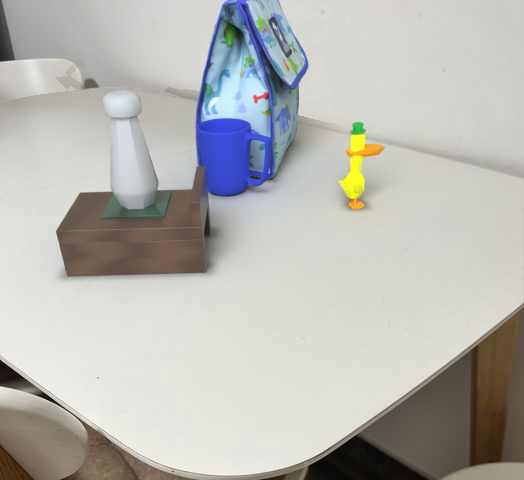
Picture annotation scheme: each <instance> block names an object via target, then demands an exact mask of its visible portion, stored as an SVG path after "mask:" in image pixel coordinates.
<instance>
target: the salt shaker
mask: <svg viewBox="0 0 524 480" xmlns="http://www.w3.org/2000/svg"><path fill="white" fill-rule="evenodd" d="M142 102H143V101H142V99H141V96H140V95H139V94H138V93H137V92H136V91H134V90H133V91H132V90H127V89H122V90H121V89H120V90H113V91H111V92H108V93H106V94H105V95H104V97H103V98H102V108H103V109H102V110H103V113H104V114H105V115H106V116H107V117H108V118H110V153H109V154H110V156H109V157H110V158H109V159H110V162H109V163H110V164H109V165H110V168H109V170H110V180H109V181H110V182H109V185H110V191H111V192H113V194H114V195H115V197H116V198H117V200H118V201H119V203H120V204H121V206H123V207H125V208H127V209H144V208H146V207H148V206H150V205H152V204H154V201H155V197H156V194H157V190H159V179H158V176H157V173H156V170H155V166H154V163H153V161H152V158H151V154H150V152H149V149H148V146H147V142H146V139H145V136H144V133H143V130H142V127H141V124H140V121H139V118H138V116H139V115H140V114H142V111H143V104H142Z"/></svg>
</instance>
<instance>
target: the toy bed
mask: <svg viewBox="0 0 524 480" xmlns="http://www.w3.org/2000/svg"><path fill="white" fill-rule="evenodd" d="M195 169H196V170H195V173H194V178H193V183H192V186H191V187H192V188H189V189H188V188H186V189H184V188H183V189H158V190H157V194H156V197H155V201H154V204H152V205H150V206H148V207H146V208H144V209H127V208H125V207H123V206H121V204H120V203H119V201H118V200H117V198H116V197H115V195H114V194H113V192H112V191H83V192H79V193H78V195H77V197H76V198H75V200H74V201H73V203H72V204H71V206H70V207H69V209H68V210H67V213H66V214H65V216H64V217H63V219H62V220H61V222H60V224H59V225H58V227H57V228H56V230H55V234H56V237H57V242H58V246H59V251H60V253H61V257H62V261H63V266H64V269H65V271H66V272H65V273H66V277H90V276H92V277H93V276H126V275H130V276H131V275H159V274H161V275H162V274H194V273H197V274H198V273H207V267H208V263H207V254H206V253H207V252H206V243H205V236H211V234H212V224H211V212H210V200H209V190H208V186H207V174H206V166H202V167H199V166H196V167H195Z"/></svg>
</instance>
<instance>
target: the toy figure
mask: <svg viewBox="0 0 524 480" xmlns="http://www.w3.org/2000/svg"><path fill="white" fill-rule="evenodd" d="M351 125H352V129H351V130H350V131H349V133H350V140H349V141H350V143H349V148H347V149H346V150H345V153H346V156H347V157H349V167H350V170H349V171H348V173H347V174H346V175H345V176H344V179H343V180H340V179H339V180H337V181H338V183H339V185H340V186H341V188H342V189H343V191H344V193H345V195H346V196H347V198H349V199H350V201H349V203H348V204H347V206H348V207H349V208H350V210H351V209H352V210H357V209H363V208H365V203H364V202H362V200H359V198H360V197H361V195H363V193H364V192H365V183H366V178H365V176H364V174H363V173H362V165H363V160H364V158H366V157H374V156H379V155H380V154H381V153H382V152H383V151H384V149H386V147H385V146H384V145H382V144H378V143H366V137H367V136H366V132H367V130H366V128H364V122H362V121H355V122H353V123H351Z"/></svg>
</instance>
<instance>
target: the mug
mask: <svg viewBox="0 0 524 480" xmlns="http://www.w3.org/2000/svg"><path fill="white" fill-rule="evenodd" d="M196 130H197V136H198V143H199V149H200V155H201V161H202V166H206V174H207V186H208V192H210V193H211V194H214V195H217V196H224V197H225V196H226V197H227V196H235V195H239V194H242V193H243V192H245V190H246V189H247V188H248V186H253V187H259V186H261V185H263V184H264V183H265V182H266V181H267V180H266V179H267V176H268V173H269V167H270V159H271V146H272V139H271V138H270V137H267V136H264V135H259V134H253V133H251V124H250V123H249V122H247V121H245V120H241V119H234V118H219V119H211V120H207V121H204V122H201V123H199V124H198V125H197V127H195V131H196ZM251 140H258V141H262V142H264V143H265V159H264V168H263V174H262V177H261V178H259V179H258V180H254V179H253V178H251V176H250V174H249V162H250V143H251Z"/></svg>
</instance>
